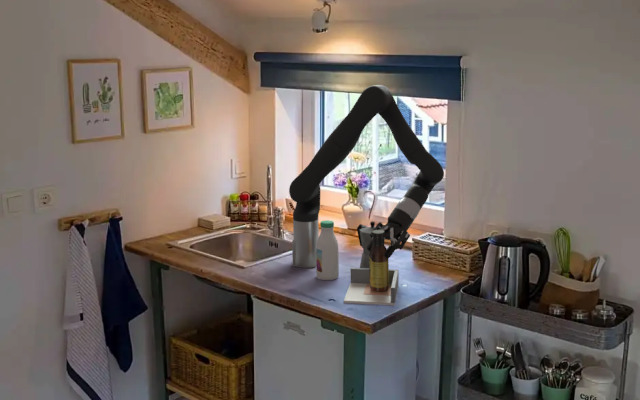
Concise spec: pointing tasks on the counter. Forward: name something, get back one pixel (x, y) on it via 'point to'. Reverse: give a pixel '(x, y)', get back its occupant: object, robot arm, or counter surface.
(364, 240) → the coffeepot
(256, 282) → the counter surface
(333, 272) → the milk bottle
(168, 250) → the counter surface
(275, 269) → the counter surface
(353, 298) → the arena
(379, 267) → the sauce bottle
